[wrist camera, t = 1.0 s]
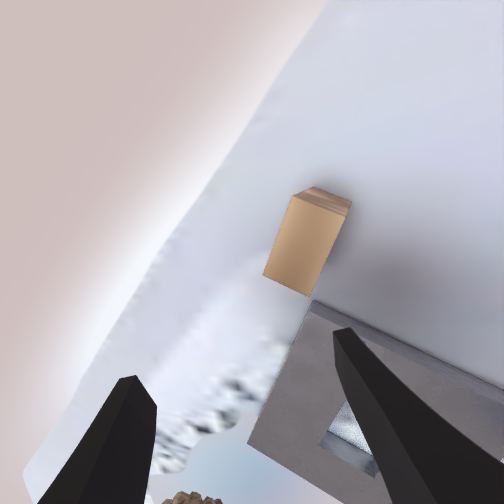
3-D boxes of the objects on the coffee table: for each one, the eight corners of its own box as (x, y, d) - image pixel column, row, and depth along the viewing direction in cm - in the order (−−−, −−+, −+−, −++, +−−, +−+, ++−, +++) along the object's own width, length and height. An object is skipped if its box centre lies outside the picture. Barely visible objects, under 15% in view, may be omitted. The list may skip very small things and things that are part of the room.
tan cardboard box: (351, 201, 22) (345, 217, 15) (324, 261, 23) (308, 297, 17) (313, 186, 22) (291, 196, 16) (289, 245, 24) (262, 275, 18)
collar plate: (524, 400, 21) (539, 422, 19) (410, 521, 27) (413, 546, 25) (313, 300, 25) (309, 311, 23) (253, 427, 31) (246, 443, 29)
